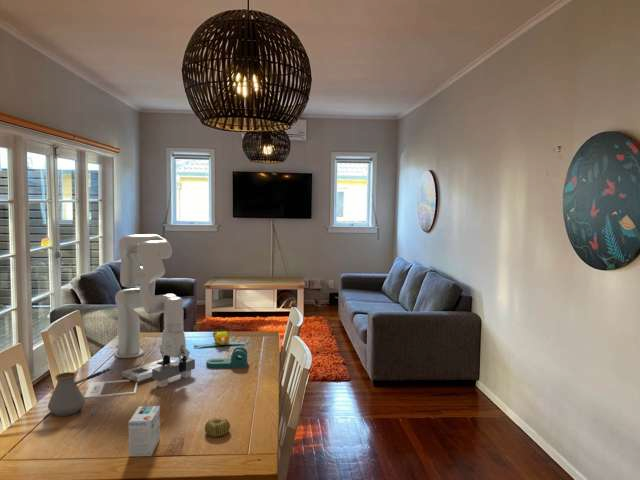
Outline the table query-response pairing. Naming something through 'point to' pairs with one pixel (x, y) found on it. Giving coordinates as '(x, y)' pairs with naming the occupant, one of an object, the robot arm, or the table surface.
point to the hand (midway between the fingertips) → (174, 368)
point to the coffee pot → (68, 394)
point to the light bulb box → (144, 431)
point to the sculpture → (217, 427)
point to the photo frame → (97, 388)
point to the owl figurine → (221, 339)
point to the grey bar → (171, 371)
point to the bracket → (230, 360)
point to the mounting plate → (142, 372)
